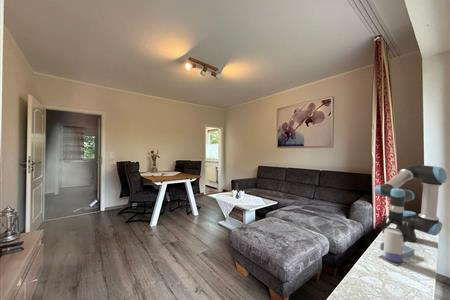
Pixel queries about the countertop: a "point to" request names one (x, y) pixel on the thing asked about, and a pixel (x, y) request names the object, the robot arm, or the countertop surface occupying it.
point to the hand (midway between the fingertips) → (393, 241)
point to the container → (393, 245)
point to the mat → (392, 261)
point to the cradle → (406, 253)
